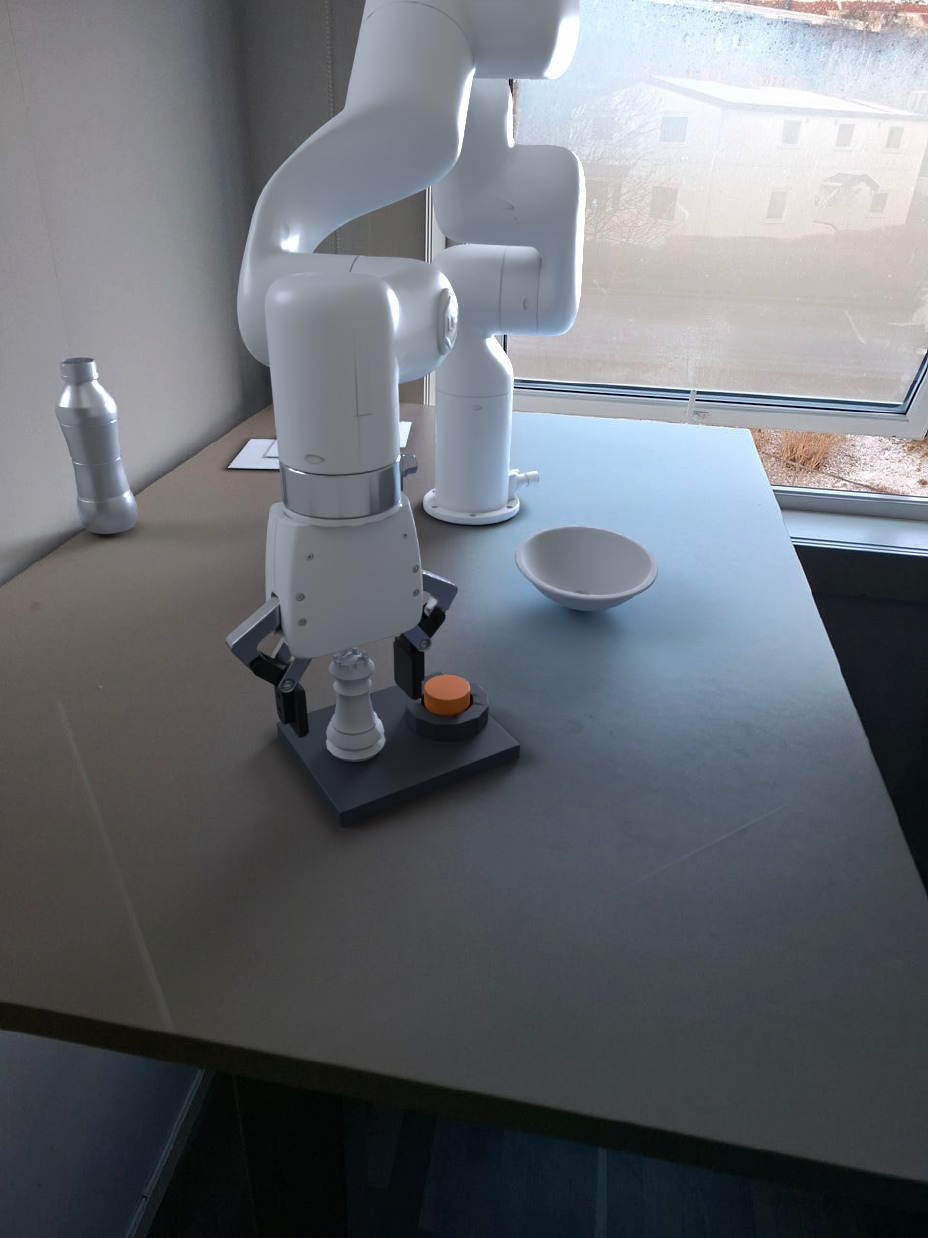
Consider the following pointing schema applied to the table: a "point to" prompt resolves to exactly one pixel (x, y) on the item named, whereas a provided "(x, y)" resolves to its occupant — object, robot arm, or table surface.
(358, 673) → the rook chess piece
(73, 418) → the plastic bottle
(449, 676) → the button
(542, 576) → the dish
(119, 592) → the table surface
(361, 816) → the scale
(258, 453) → the paper stack
